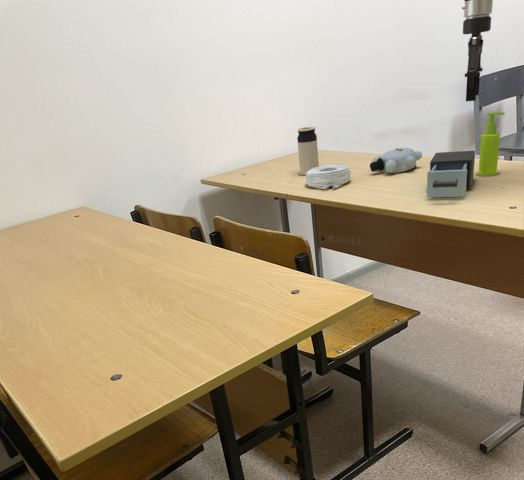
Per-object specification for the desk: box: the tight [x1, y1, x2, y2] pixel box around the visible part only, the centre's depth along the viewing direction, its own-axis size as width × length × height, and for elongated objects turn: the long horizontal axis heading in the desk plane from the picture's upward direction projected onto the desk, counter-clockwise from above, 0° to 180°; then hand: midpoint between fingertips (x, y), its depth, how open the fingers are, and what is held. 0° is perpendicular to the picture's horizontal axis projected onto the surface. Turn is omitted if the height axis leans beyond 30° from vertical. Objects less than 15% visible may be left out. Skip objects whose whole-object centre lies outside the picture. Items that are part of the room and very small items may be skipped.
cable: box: [304, 164, 352, 191], centre depth 202 cm, size 18×18×6 cm
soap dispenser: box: [478, 111, 506, 177], centre depth 181 cm, size 6×7×20 cm
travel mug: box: [296, 126, 320, 176], centre depth 221 cm, size 8×8×18 cm
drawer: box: [426, 162, 468, 198], centre depth 166 cm, size 18×11×8 cm, turn 158°
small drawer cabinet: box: [429, 150, 476, 192], centre depth 176 cm, size 15×13×10 cm
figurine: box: [369, 147, 423, 174], centre depth 208 cm, size 17×8×20 cm
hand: (472, 98), depth 162 cm, fingers open, 13 cm apart
